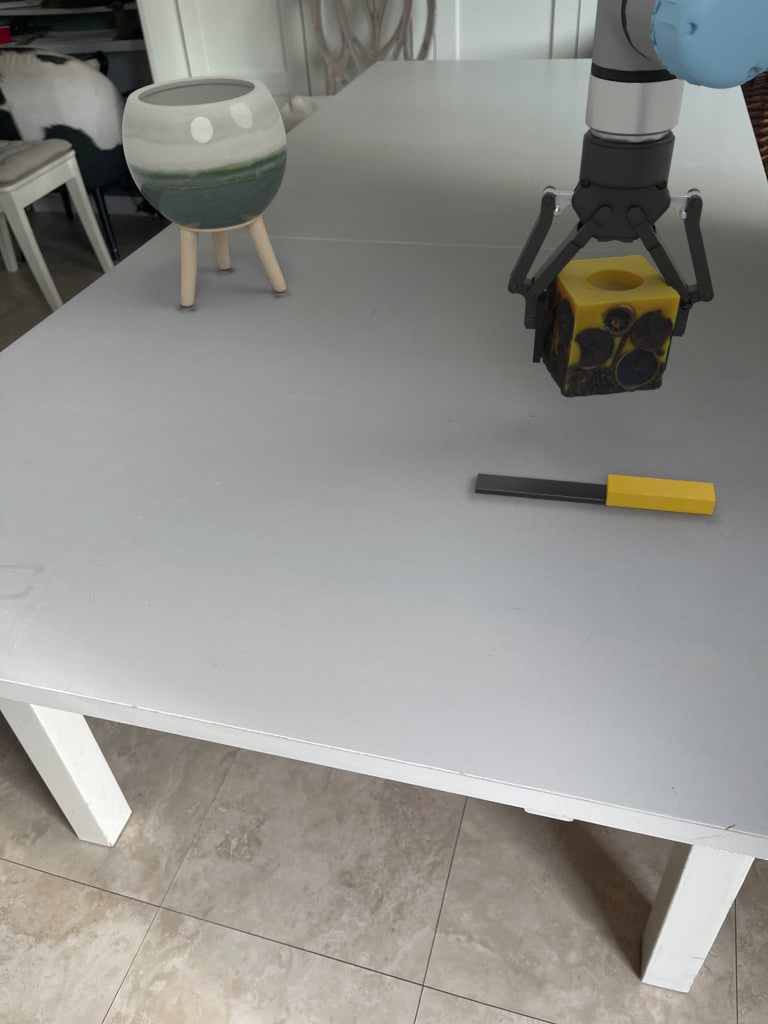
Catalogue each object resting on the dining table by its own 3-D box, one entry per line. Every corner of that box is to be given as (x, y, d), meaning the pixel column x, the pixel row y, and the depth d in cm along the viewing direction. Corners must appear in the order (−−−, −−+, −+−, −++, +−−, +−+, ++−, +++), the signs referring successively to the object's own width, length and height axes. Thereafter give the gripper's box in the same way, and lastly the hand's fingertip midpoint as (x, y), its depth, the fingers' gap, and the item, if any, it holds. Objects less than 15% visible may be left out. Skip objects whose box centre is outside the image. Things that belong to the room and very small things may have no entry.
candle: (535, 351, 86) (542, 260, 80) (627, 342, 87) (642, 252, 80) (562, 401, 78) (572, 304, 72) (663, 391, 79) (682, 294, 72)
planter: (217, 252, 136) (184, 68, 119) (329, 271, 128) (311, 76, 110) (128, 305, 122) (75, 104, 104) (248, 331, 113) (212, 117, 95)
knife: (709, 497, 80) (712, 483, 79) (711, 515, 78) (715, 500, 77) (478, 477, 84) (478, 463, 83) (474, 493, 82) (475, 479, 81)
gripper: (774, 118, 68) (718, 348, 82) (492, 117, 73) (484, 336, 87) (789, 143, 63) (726, 386, 77) (483, 140, 67) (476, 370, 81)
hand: (598, 360), depth 82 cm, fingers closed on candle, 11 cm apart
